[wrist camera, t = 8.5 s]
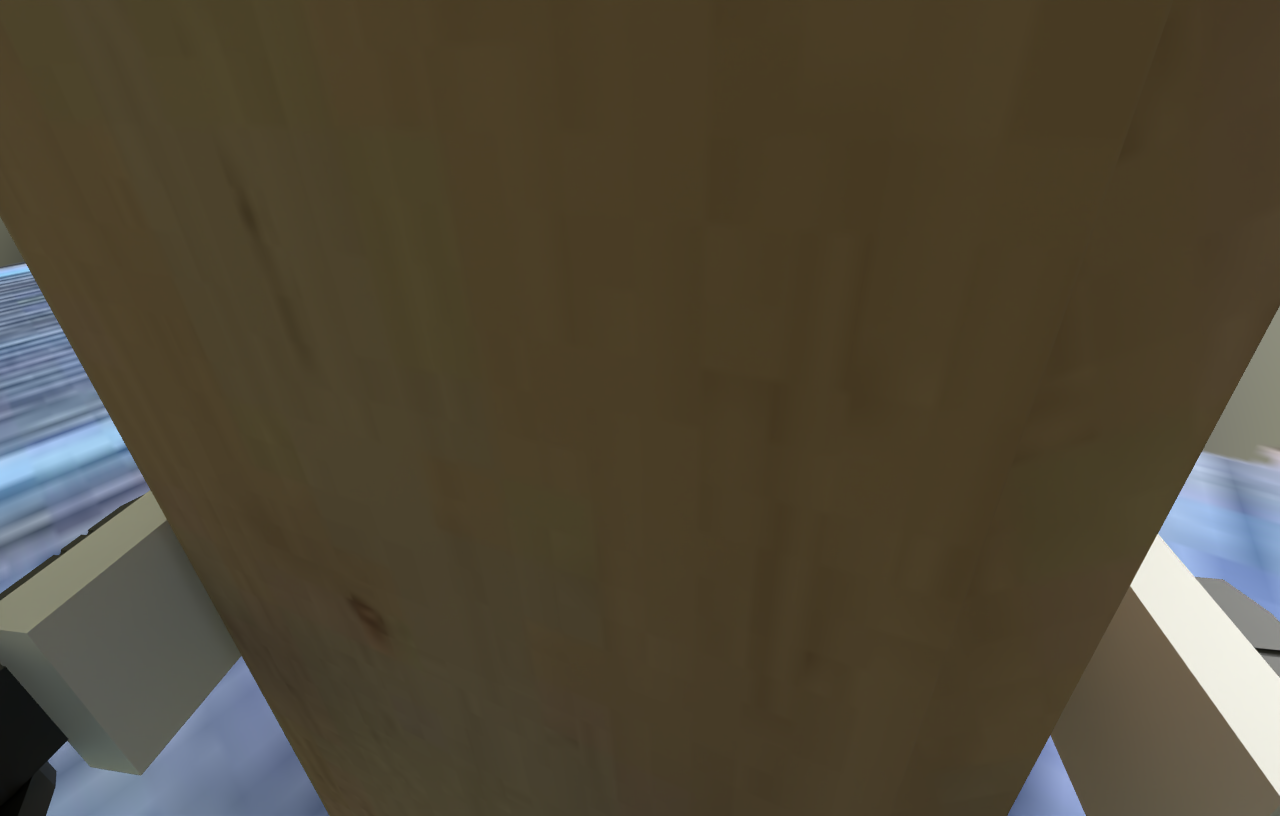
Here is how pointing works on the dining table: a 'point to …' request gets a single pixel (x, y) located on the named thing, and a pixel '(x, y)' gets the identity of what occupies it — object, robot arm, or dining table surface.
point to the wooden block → (656, 365)
